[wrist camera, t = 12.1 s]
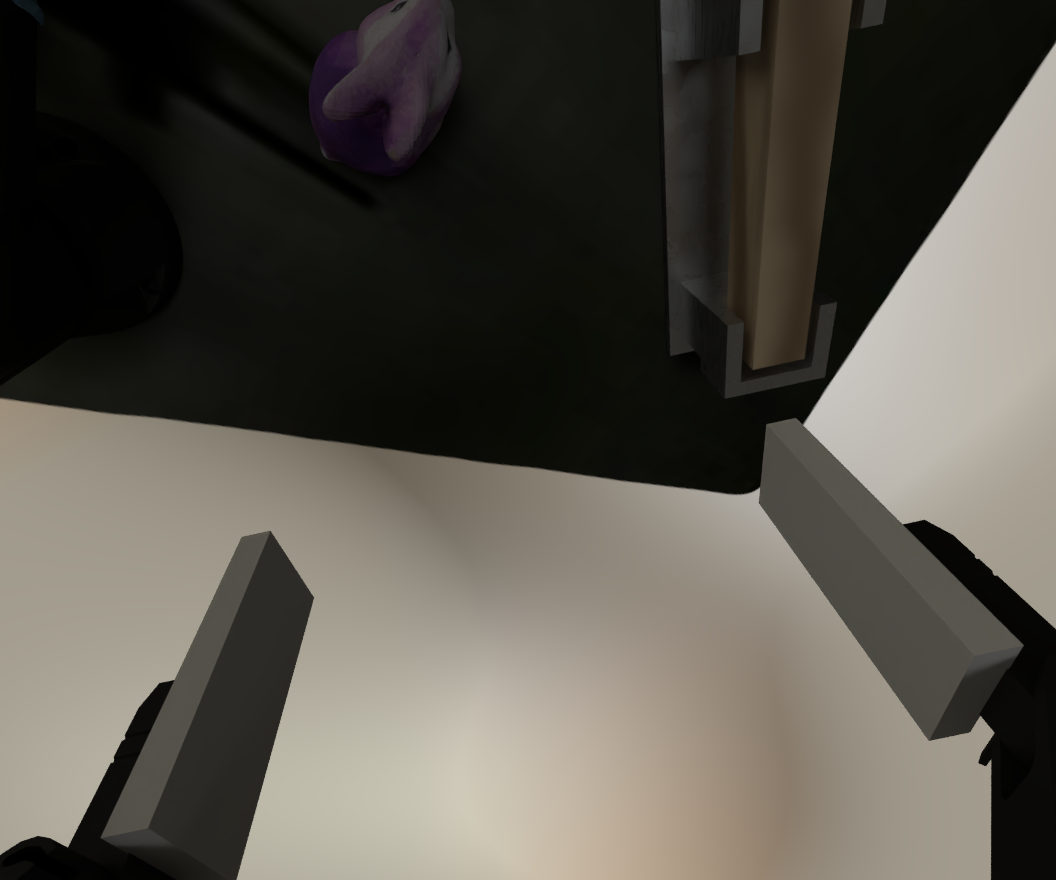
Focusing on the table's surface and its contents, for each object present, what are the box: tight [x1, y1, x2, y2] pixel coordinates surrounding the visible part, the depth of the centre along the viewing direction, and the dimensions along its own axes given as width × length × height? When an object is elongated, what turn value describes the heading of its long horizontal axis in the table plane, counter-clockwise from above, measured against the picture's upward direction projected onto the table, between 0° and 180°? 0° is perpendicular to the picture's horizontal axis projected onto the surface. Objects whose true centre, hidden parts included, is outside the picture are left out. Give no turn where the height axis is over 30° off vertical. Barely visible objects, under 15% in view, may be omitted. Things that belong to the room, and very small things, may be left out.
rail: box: [727, 0, 852, 370], centre depth 36 cm, size 4×24×5 cm, turn 10°
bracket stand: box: [656, 0, 886, 398], centre depth 38 cm, size 10×30×11 cm, turn 10°
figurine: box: [309, 0, 462, 177], centre depth 31 cm, size 9×10×15 cm
